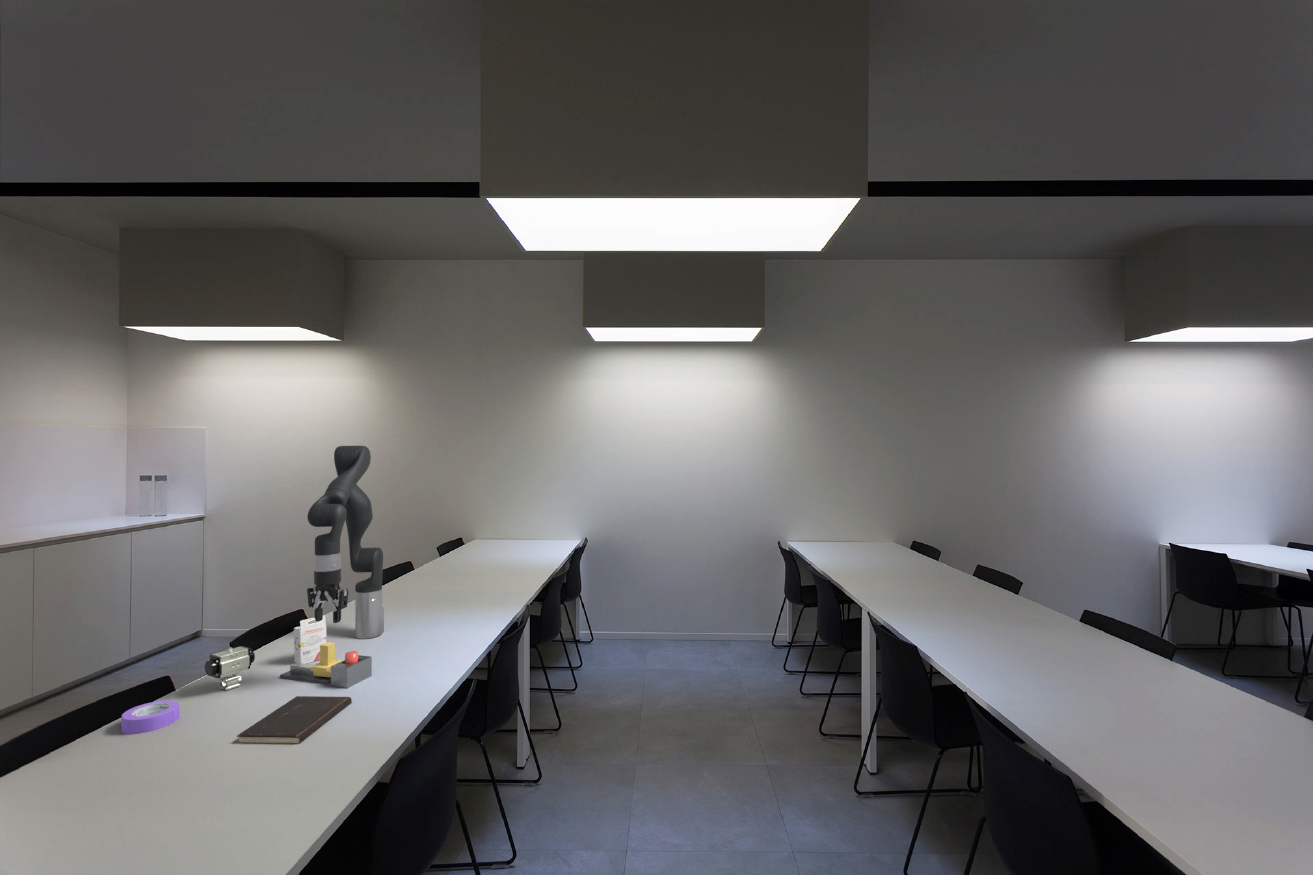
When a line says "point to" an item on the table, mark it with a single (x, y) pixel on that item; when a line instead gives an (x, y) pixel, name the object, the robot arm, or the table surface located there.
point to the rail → (304, 674)
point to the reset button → (351, 657)
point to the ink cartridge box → (309, 640)
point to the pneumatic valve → (229, 666)
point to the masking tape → (150, 717)
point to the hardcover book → (295, 720)
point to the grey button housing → (351, 672)
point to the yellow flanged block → (325, 660)
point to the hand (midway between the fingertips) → (327, 621)
